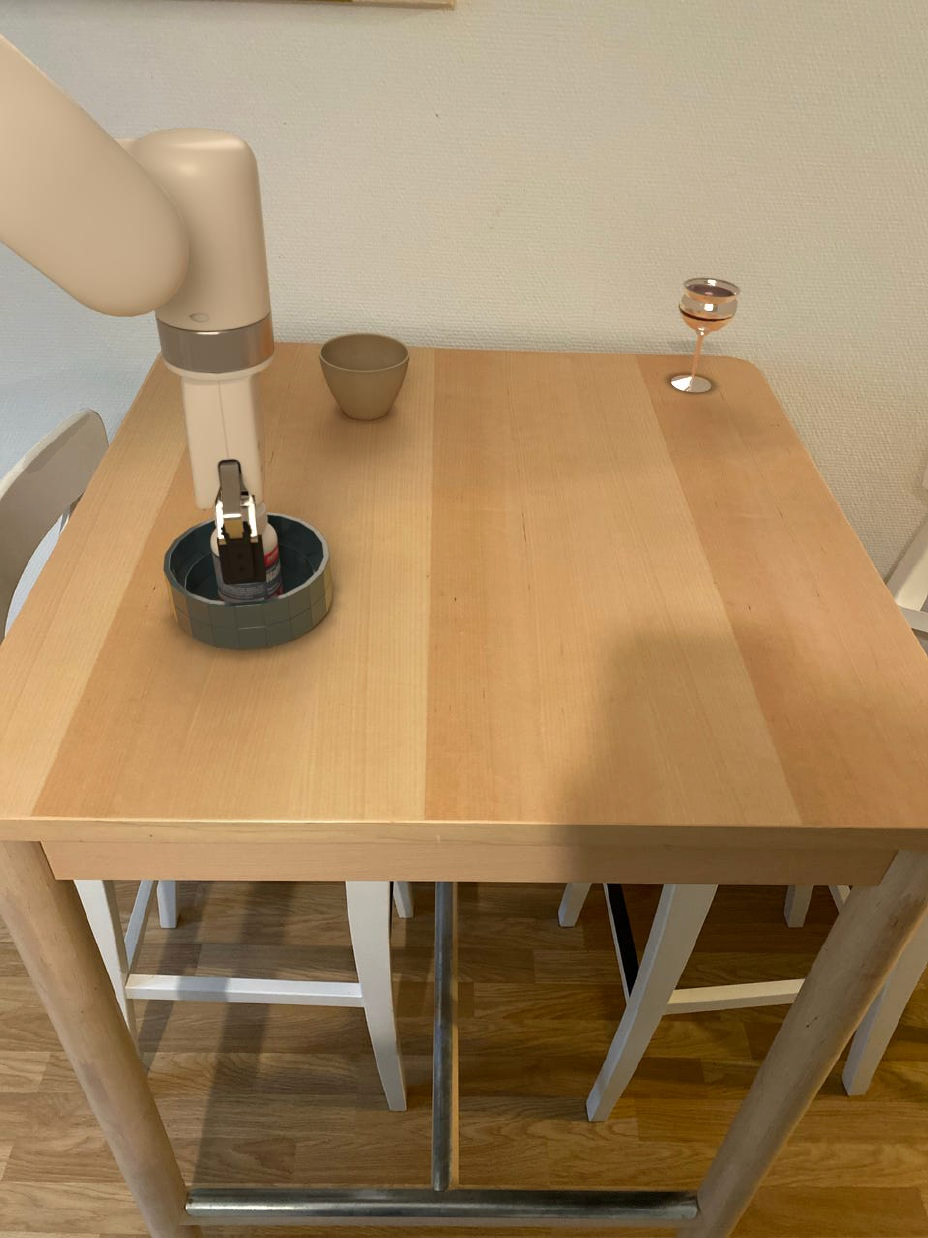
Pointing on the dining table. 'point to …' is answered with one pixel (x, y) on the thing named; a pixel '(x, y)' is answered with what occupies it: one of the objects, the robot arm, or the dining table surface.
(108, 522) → the dining table surface
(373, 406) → the flower pot
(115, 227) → the robot arm
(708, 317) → the wineglass
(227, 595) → the pill bottle
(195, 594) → the bowl
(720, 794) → the dining table surface
